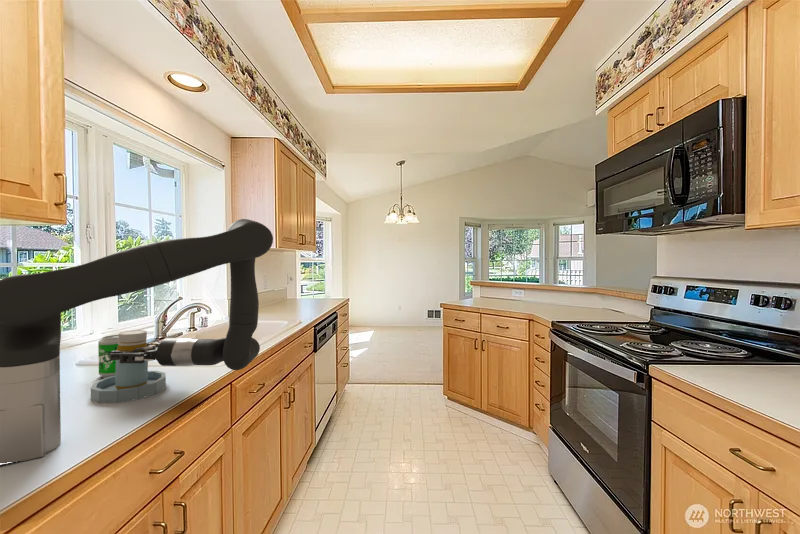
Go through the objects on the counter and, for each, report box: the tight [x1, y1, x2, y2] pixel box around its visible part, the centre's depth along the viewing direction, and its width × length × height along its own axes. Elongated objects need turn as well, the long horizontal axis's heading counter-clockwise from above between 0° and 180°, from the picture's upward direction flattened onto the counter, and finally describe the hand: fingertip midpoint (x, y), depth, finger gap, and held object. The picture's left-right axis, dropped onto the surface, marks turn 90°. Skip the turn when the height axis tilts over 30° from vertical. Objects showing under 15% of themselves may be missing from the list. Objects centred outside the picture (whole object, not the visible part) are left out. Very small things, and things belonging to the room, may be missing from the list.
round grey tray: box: [90, 370, 167, 404], centre depth 97 cm, size 16×16×3 cm
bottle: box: [115, 329, 149, 389], centre depth 97 cm, size 7×7×15 cm
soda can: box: [97, 334, 119, 379], centre depth 109 cm, size 8×8×12 cm
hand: (123, 351), depth 96 cm, fingers open, 8 cm apart
